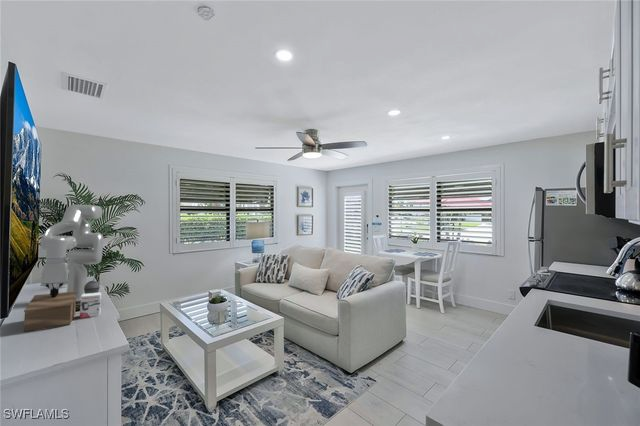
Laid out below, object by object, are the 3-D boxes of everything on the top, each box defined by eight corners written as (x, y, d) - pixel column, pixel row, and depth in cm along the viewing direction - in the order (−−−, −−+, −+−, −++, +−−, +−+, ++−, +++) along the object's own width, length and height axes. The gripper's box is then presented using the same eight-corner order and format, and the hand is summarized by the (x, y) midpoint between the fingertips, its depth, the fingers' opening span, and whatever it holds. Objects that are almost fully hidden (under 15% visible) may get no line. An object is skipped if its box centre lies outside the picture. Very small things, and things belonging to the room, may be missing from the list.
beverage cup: (86, 305, 166) (87, 272, 166) (100, 304, 169) (102, 271, 169) (80, 309, 159) (82, 275, 160) (96, 308, 162) (97, 274, 162)
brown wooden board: (34, 296, 144) (34, 295, 144) (76, 292, 153) (76, 291, 153) (24, 312, 129) (24, 310, 129) (71, 306, 139) (71, 304, 139)
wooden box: (34, 319, 144) (35, 301, 144) (75, 313, 153) (76, 297, 153) (23, 331, 129) (24, 312, 129) (69, 325, 138) (70, 307, 139)
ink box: (79, 318, 147) (80, 296, 147) (80, 315, 151) (81, 293, 151) (99, 315, 152) (100, 294, 152) (100, 313, 156) (101, 292, 156)
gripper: (76, 259, 152) (74, 292, 152) (37, 260, 144) (35, 296, 143) (73, 261, 146) (72, 296, 146) (33, 263, 137) (31, 300, 137)
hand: (54, 296), depth 144 cm, fingers closed
